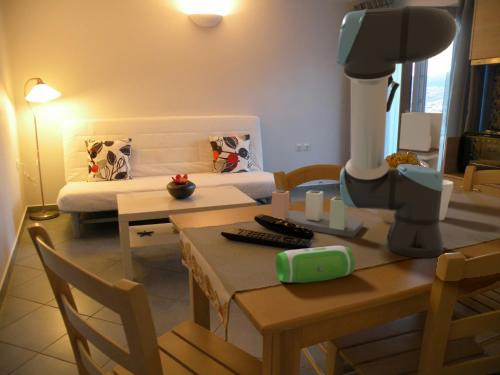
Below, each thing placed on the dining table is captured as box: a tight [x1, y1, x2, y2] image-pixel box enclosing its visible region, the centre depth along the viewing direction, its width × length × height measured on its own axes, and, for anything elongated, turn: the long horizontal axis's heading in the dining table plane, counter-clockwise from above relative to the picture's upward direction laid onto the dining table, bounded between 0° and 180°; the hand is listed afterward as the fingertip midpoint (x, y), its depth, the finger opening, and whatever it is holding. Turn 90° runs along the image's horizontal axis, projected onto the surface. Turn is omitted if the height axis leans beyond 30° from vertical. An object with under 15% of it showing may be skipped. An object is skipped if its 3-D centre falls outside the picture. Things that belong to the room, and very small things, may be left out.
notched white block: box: [398, 111, 444, 171], centre depth 162 cm, size 11×11×35 cm
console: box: [269, 209, 365, 239], centre depth 135 cm, size 12×30×2 cm, turn 60°
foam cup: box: [439, 179, 454, 221], centre depth 140 cm, size 10×9×13 cm
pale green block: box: [329, 196, 349, 230], centre depth 124 cm, size 4×4×9 cm
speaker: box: [275, 245, 355, 284], centre depth 96 cm, size 18×7×8 cm, turn 103°
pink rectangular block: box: [271, 189, 290, 220], centre depth 134 cm, size 4×4×9 cm
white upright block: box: [305, 189, 324, 221], centre depth 133 cm, size 4×4×9 cm
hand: (376, 132), depth 140 cm, fingers closed
